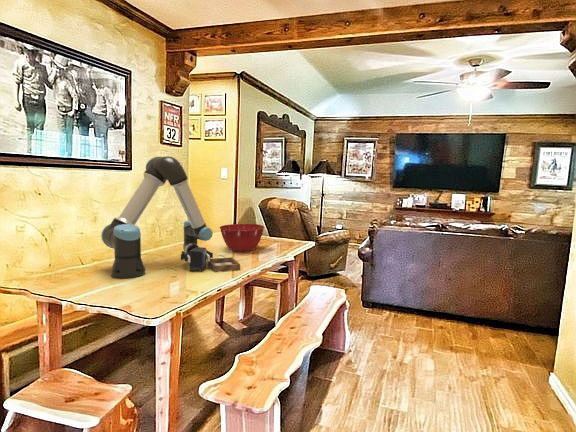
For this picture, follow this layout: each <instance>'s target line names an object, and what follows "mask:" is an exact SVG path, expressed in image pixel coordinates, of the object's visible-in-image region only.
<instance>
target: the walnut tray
mask: <svg viewBox="0 0 576 432" xmlns="http://www.w3.org/2000/svg"><path fill="white" fill-rule="evenodd" d="M207 265H208V267H209V268H210V269H211V270H212V272H214V273H219V272H218V271H222V272H231V271H230V270H235V271H241V264H240V263H239V262H238V261H237V260H236V259H235V258H234V257H232V256H230V257H217V258H214V257H213V258H211V259H210V261H208V260H207Z"/></svg>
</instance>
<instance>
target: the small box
mask: <svg viewBox="0 0 576 432" xmlns="http://www.w3.org/2000/svg"><path fill="white" fill-rule="evenodd" d="M206 250H207V247H202V246H201V247H200V246H199V247H195V248H193V249H192V250H191V251H190V263H189V271H190V272H202V271H204V270H205V268H206V267H207V259H206Z"/></svg>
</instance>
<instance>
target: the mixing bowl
mask: <svg viewBox="0 0 576 432" xmlns="http://www.w3.org/2000/svg"><path fill="white" fill-rule="evenodd" d="M219 229H220V232H221V235H222V236H221V237H222V239H223V242H224V243H225V245H226V247H227V248H228V249H229V250H230V251H232V252H235V253H249V252H252V251H253V250H255V249H256V248H257V247H258V245H259V243H260V241H261V239H262V237H263V236H262V235H263V233H264V229H265V226H264V225H261V224H257V223H256V224H255V223H233V224H232V223H231V224H224V225H221V226H219Z"/></svg>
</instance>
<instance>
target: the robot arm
mask: <svg viewBox="0 0 576 432" xmlns="http://www.w3.org/2000/svg"><path fill="white" fill-rule="evenodd" d="M188 179H189V178H188V175H187V173H186V171H185V169H184V167H183V166H182V164H181V163H180V161H179V160H178V159H176V158H175V157H173V156H169V155H167V156H155V157H152V158H150V159H148V161H147V163H146V165H145V170H144V172H143V179H142V180H141V181H140V182H141V183H140V184H139V186H138V187H137V189H136V190H135V192H134V193H133V195H132V196H131V197H130V200H128V202H127V204H126V206H125V207H124V208H123V210H122V211H121V213H120V215H118V217H114V218H113V219H112V221H111V222H110V224H107V225H106V226H104V228H103V229H102V231H101V235H100V237H101V241H102V242H103V244H104V245H106V246H107V247H108V248H110V249H113V250H114V254H113V255H114V260H113V264H112V266H111V270H110V277H112V278H115V279H131V278H137V277H141V276H143V275H146V268H145V264H144V261H143V260H142V251H141V250H142V245H141V243H142V242H141V241H142V240H141V236H142V234H141V229H140V227H139V226H138V225H136V224H137V222H138V221H139V219H140V218H141V216H142V214H143V213H144V211H145V210H146V208H147V206H148V205H149V203H150V201H151V200H152V199H153V197H154V196H155V195H156V192H157V191H158V189H159V188H160V187H163V186H164V185H165V184H166V183H167V181H168V183H169V186H171V187H173V189H174V191H175V194H176V196H177V198H178V200H179V202H180V204H181V207H182V209H183V211H184V213H185V215H186V217H187V220H185V221H184V222H183V227H182V228H183V246H182V247H183V250H182V251H181V254H180V260H181V261H183V260H184V262H188V263H189V264H190V251H191V250H192V249H193V248H195V247H200V246H199V245H198V241H203V242H207V241H210V240H211V239H212V237H213V230H212V229H211V228H210V227H208V226H207V224H206V221H205V220H204V217H203V214H202V212H201V210H200V208H199V206H198V203H197V201H196V199H195V196H194V194H193V192H192V190H191V187H190V185H189V183H188ZM210 259H214V253H213V252H211V251H209V250H208V249H206V261H207V262H208V261H210Z"/></svg>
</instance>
